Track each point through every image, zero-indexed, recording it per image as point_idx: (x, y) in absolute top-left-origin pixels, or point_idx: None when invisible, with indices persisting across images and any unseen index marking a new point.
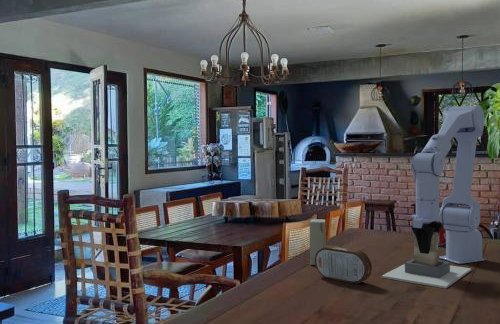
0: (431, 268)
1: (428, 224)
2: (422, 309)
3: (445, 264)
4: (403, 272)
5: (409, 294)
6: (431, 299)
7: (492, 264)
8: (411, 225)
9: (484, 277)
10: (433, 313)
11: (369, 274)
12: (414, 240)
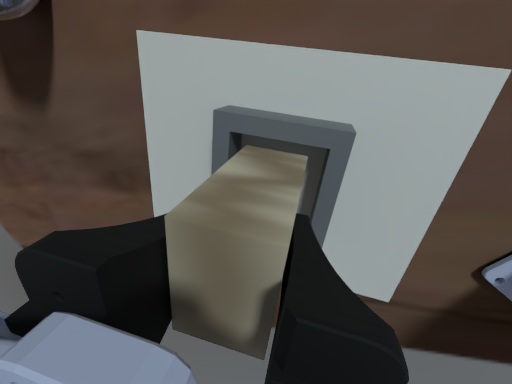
0: None
1: (267, 380)
2: (17, 203)
3: None
4: (225, 100)
5: (65, 165)
6: (73, 212)
7: (509, 358)
8: (29, 249)
9: None
10: (18, 221)
11: (11, 15)
12: (197, 190)
